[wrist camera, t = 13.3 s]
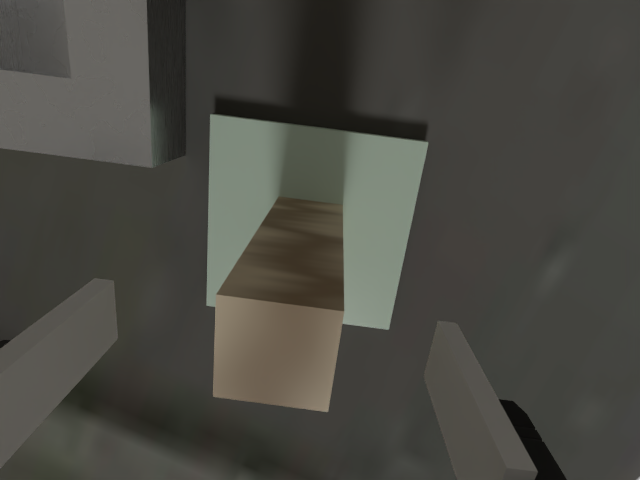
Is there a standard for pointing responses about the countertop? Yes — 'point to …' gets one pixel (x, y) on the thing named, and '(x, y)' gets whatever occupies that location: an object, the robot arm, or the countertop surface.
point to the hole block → (94, 79)
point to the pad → (316, 199)
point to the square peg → (283, 309)
